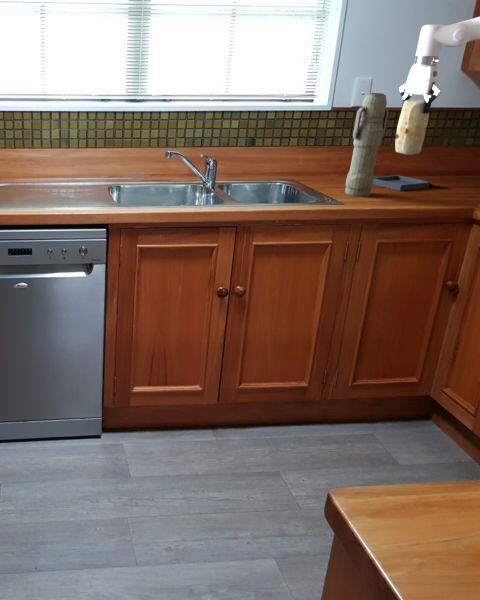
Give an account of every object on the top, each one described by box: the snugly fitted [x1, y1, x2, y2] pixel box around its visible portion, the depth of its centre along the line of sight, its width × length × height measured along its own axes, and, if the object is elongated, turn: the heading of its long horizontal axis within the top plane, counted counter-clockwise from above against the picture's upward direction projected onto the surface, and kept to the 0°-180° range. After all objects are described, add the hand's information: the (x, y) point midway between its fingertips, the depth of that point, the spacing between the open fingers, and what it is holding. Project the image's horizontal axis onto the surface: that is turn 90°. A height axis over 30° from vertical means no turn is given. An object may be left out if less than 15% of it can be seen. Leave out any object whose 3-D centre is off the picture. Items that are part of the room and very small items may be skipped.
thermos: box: [344, 92, 390, 198], centre depth 216 cm, size 9×12×35 cm
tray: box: [372, 174, 431, 192], centre depth 237 cm, size 15×16×2 cm
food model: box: [394, 98, 430, 156], centre depth 228 cm, size 10×7×20 cm
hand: (414, 111), depth 226 cm, fingers closed on food model, 8 cm apart
